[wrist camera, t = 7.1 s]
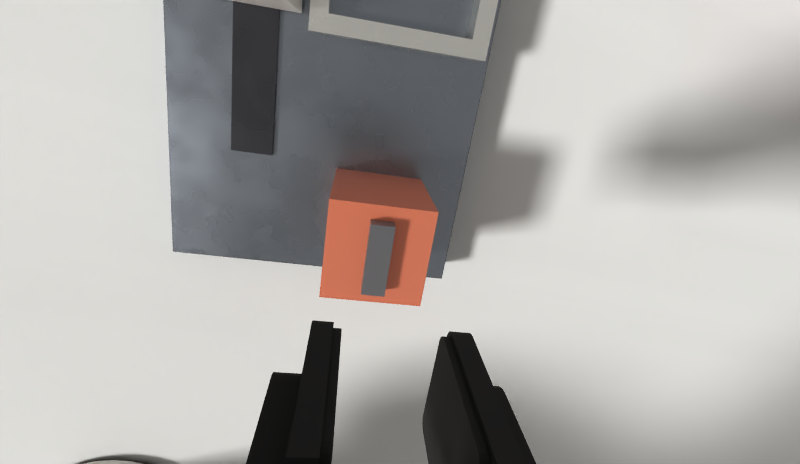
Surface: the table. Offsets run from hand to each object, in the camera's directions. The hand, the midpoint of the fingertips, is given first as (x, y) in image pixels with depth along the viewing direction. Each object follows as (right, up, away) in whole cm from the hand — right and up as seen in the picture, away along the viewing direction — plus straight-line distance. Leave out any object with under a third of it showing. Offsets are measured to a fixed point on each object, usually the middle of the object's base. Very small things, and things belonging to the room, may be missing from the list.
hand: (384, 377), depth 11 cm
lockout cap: (-1, +5, +12) cm, 13 cm away
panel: (-3, +12, +11) cm, 17 cm away
